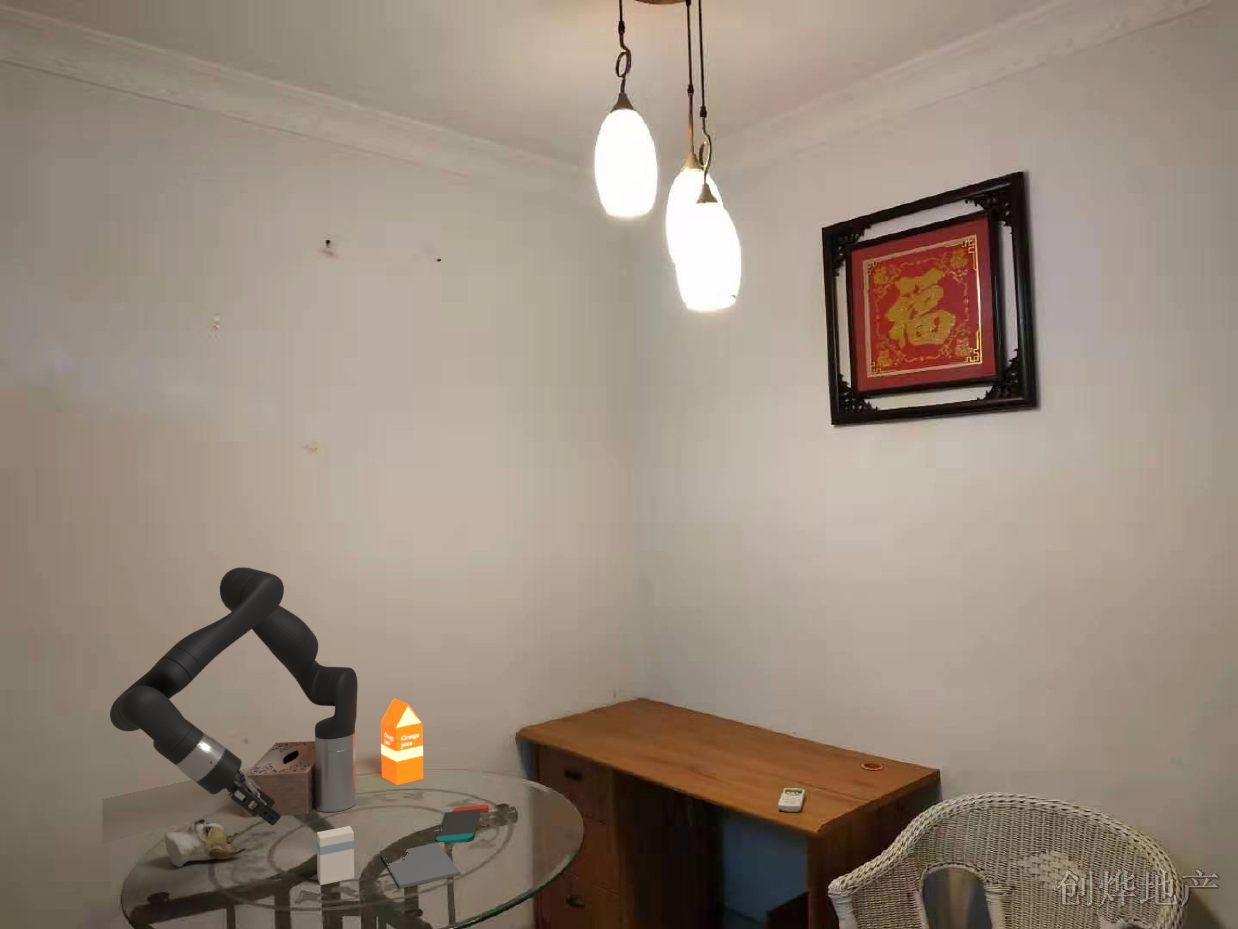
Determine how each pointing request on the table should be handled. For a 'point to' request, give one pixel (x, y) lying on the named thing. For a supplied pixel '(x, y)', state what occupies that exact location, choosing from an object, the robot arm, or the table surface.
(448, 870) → the mat
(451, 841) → the gaming console
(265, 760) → the tissue box cover
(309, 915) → the table surface
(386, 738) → the orange juice
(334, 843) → the card box
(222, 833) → the ceramic sculpture
